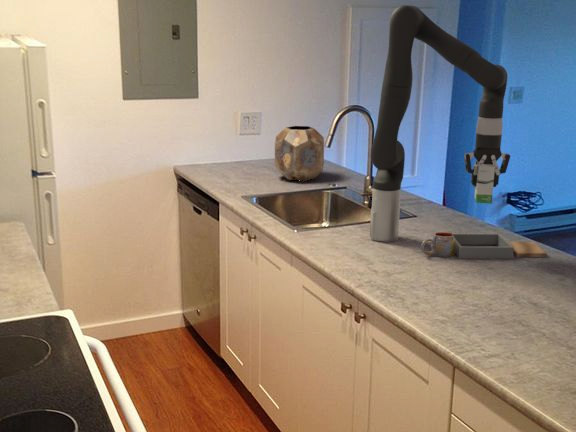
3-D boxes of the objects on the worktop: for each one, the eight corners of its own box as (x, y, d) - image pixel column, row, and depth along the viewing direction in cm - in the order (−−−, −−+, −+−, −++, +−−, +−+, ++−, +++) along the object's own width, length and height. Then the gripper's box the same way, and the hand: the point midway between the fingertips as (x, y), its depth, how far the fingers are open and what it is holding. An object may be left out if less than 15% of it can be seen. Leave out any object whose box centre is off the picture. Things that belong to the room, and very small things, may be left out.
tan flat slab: (516, 256, 216) (517, 253, 216) (505, 245, 228) (505, 241, 228) (545, 257, 216) (546, 253, 216) (532, 245, 228) (533, 241, 227)
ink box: (492, 204, 213) (495, 166, 210) (475, 203, 214) (478, 165, 211) (490, 197, 221) (493, 160, 218) (474, 196, 222) (477, 159, 219)
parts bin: (458, 258, 215) (459, 247, 214) (448, 243, 229) (449, 233, 228) (512, 258, 215) (513, 247, 214) (498, 243, 229) (499, 233, 228)
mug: (445, 249, 224) (446, 229, 222) (458, 255, 217) (459, 235, 216) (413, 254, 219) (414, 234, 217) (426, 260, 213) (427, 239, 211)
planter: (271, 183, 315) (271, 131, 309) (280, 172, 338) (280, 123, 332) (319, 185, 312) (320, 132, 305) (326, 174, 335) (326, 124, 329)
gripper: (468, 133, 208) (464, 188, 213) (516, 134, 208) (511, 189, 213) (462, 130, 216) (458, 183, 220) (508, 130, 216) (503, 183, 220)
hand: (484, 186), depth 216 cm, fingers closed on ink box, 5 cm apart
